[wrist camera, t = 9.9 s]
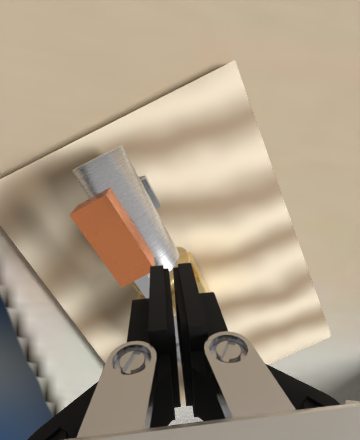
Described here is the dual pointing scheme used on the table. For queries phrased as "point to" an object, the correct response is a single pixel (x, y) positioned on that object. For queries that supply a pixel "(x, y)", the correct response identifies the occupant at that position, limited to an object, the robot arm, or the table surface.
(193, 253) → the valve board
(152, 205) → the pipe and valve
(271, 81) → the table surface
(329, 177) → the table surface
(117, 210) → the valve handle
